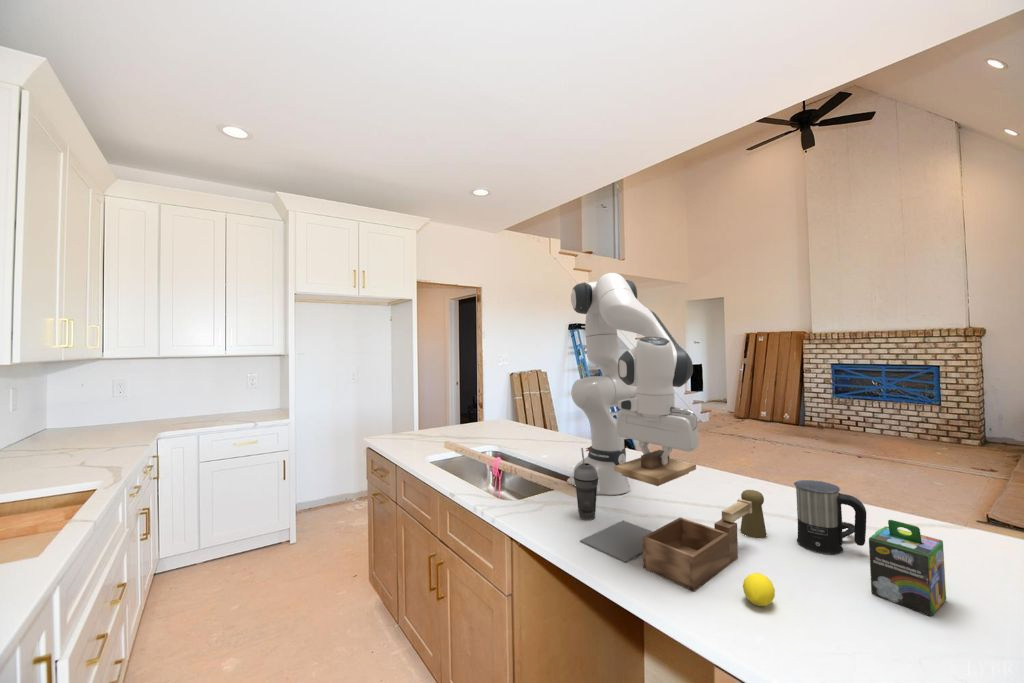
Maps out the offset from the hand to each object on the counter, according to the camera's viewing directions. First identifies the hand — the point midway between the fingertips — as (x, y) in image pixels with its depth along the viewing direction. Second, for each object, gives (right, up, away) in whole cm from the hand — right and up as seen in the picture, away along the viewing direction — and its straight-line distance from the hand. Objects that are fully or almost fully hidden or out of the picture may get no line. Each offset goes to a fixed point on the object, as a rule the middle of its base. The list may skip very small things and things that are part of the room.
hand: (655, 461), depth 103 cm
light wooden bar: (+20, -13, 0) cm, 24 cm away
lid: (0, -3, 0) cm, 3 cm away
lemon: (+14, -22, -20) cm, 33 cm away
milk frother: (+44, -21, +4) cm, 49 cm away
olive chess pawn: (+29, -21, +9) cm, 37 cm away
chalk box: (+43, -21, -19) cm, 51 cm away
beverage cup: (-13, -23, +22) cm, 34 cm away
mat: (-6, -22, +7) cm, 24 cm away
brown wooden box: (+7, -22, -5) cm, 23 cm away
